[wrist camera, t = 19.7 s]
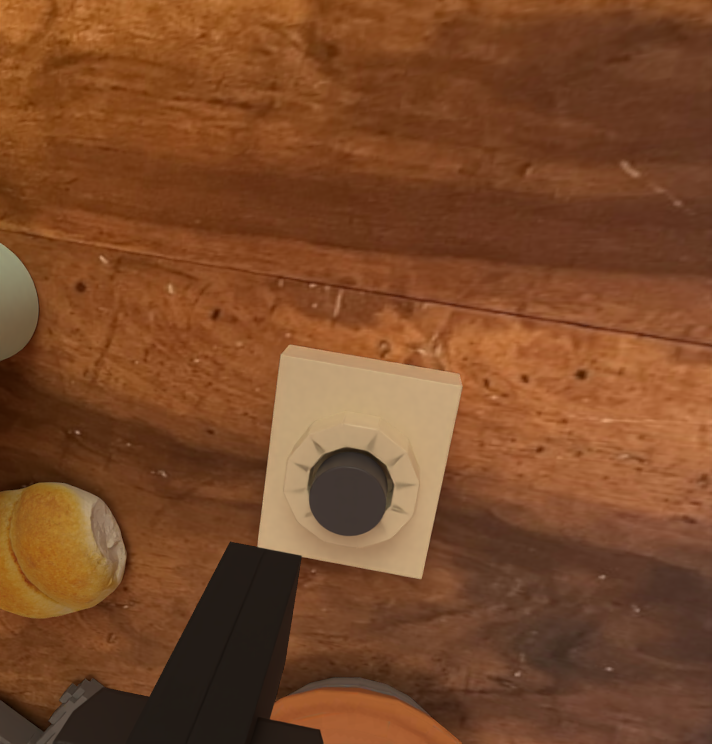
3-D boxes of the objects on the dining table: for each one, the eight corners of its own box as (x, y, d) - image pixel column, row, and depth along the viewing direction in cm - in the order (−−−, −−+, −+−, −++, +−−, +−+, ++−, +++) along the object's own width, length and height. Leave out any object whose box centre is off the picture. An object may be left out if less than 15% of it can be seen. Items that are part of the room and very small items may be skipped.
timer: (289, 344, 32) (272, 364, 28) (459, 373, 32) (465, 398, 28) (266, 527, 35) (248, 567, 32) (421, 556, 35) (421, 601, 31)
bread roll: (-37, 496, 37) (-89, 531, 33) (96, 463, 35) (57, 495, 31) (21, 612, 39) (-23, 657, 35) (148, 585, 37) (117, 629, 33)
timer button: (319, 445, 30) (313, 460, 28) (393, 458, 29) (392, 474, 28) (310, 510, 31) (304, 528, 29) (381, 523, 30) (379, 543, 29)
